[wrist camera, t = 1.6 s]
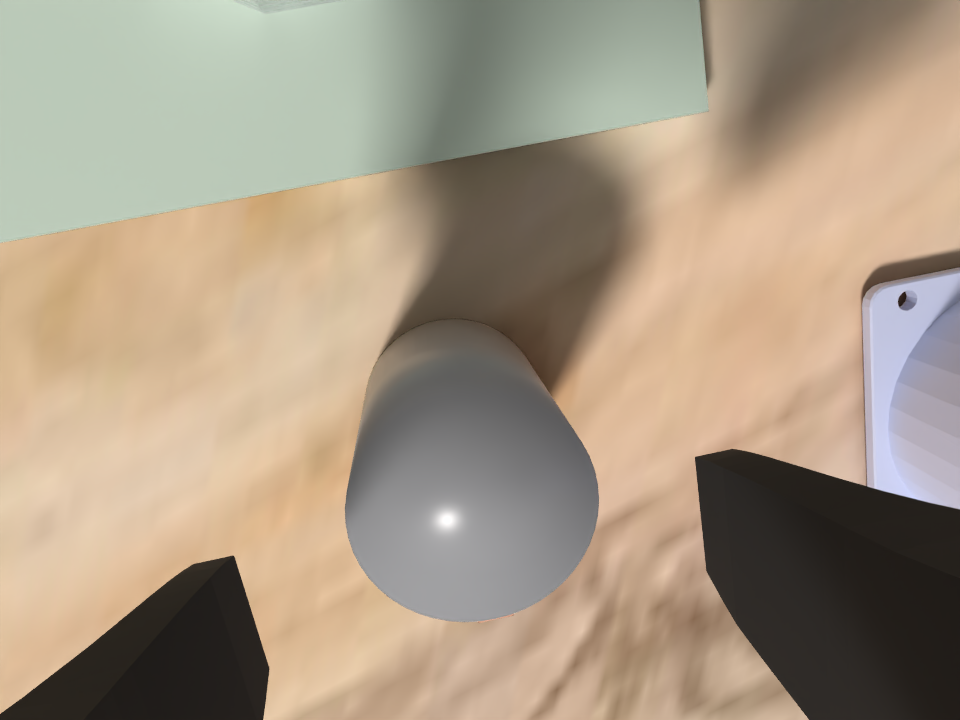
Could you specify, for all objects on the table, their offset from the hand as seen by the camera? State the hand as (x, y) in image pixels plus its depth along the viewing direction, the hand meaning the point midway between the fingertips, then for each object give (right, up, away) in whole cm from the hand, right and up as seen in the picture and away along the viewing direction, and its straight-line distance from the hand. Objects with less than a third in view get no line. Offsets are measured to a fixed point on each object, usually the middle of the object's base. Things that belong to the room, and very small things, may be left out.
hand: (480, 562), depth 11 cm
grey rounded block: (-1, +2, +7) cm, 8 cm away
